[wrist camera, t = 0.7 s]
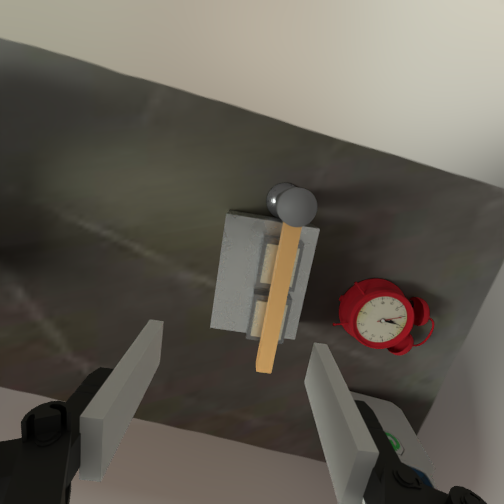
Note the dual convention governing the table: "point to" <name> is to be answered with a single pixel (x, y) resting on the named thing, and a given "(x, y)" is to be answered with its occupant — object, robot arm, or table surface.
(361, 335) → the alarm clock
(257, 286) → the grey boxy piece
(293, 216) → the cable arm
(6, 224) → the table surface
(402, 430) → the electronic device
